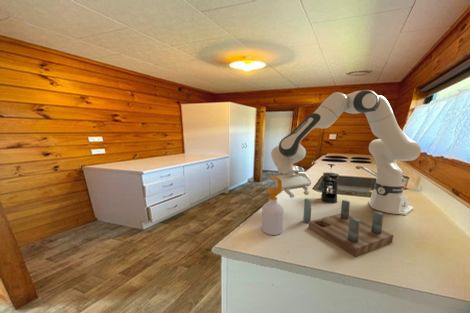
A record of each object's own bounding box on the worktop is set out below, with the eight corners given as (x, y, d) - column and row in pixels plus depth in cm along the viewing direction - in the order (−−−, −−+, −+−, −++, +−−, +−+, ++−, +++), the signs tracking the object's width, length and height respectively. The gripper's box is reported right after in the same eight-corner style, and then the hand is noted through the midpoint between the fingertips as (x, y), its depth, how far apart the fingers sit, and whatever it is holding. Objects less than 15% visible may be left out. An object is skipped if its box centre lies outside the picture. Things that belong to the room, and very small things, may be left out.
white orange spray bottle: (259, 225, 90) (260, 173, 87) (279, 224, 91) (280, 173, 88) (264, 236, 81) (265, 178, 78) (285, 235, 82) (288, 177, 79)
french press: (330, 204, 116) (333, 166, 113) (316, 199, 124) (319, 163, 121) (342, 201, 122) (345, 164, 119) (328, 196, 130) (330, 162, 126)
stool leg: (306, 219, 96) (308, 198, 95) (311, 222, 94) (313, 200, 92) (301, 220, 95) (303, 199, 94) (306, 223, 92) (308, 201, 91)
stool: (342, 218, 97) (343, 197, 96) (392, 242, 77) (395, 215, 76) (308, 227, 88) (309, 204, 87) (355, 256, 68) (358, 227, 67)
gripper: (274, 170, 99) (286, 195, 91) (305, 167, 107) (318, 190, 100) (269, 177, 103) (279, 201, 96) (299, 174, 112) (311, 195, 104)
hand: (300, 195), depth 98 cm, fingers open, 8 cm apart
